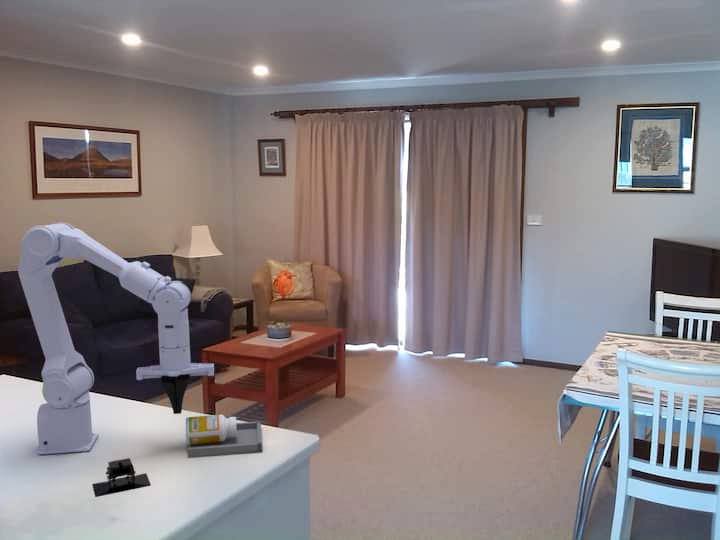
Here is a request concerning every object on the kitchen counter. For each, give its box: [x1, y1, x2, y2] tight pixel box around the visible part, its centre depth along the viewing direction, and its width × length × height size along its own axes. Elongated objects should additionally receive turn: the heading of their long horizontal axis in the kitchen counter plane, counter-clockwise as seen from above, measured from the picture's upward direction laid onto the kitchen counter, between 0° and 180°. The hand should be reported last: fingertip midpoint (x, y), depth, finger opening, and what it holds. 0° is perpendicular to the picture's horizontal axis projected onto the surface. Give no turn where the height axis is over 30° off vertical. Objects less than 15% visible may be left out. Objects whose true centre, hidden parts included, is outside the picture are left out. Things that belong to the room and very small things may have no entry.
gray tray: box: [186, 421, 263, 458], centre depth 132 cm, size 14×12×2 cm
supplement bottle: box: [185, 414, 237, 446], centre depth 131 cm, size 5×5×10 cm
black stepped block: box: [91, 457, 151, 498], centre depth 114 cm, size 12×7×5 cm, turn 117°
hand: (177, 412), depth 129 cm, fingers closed
